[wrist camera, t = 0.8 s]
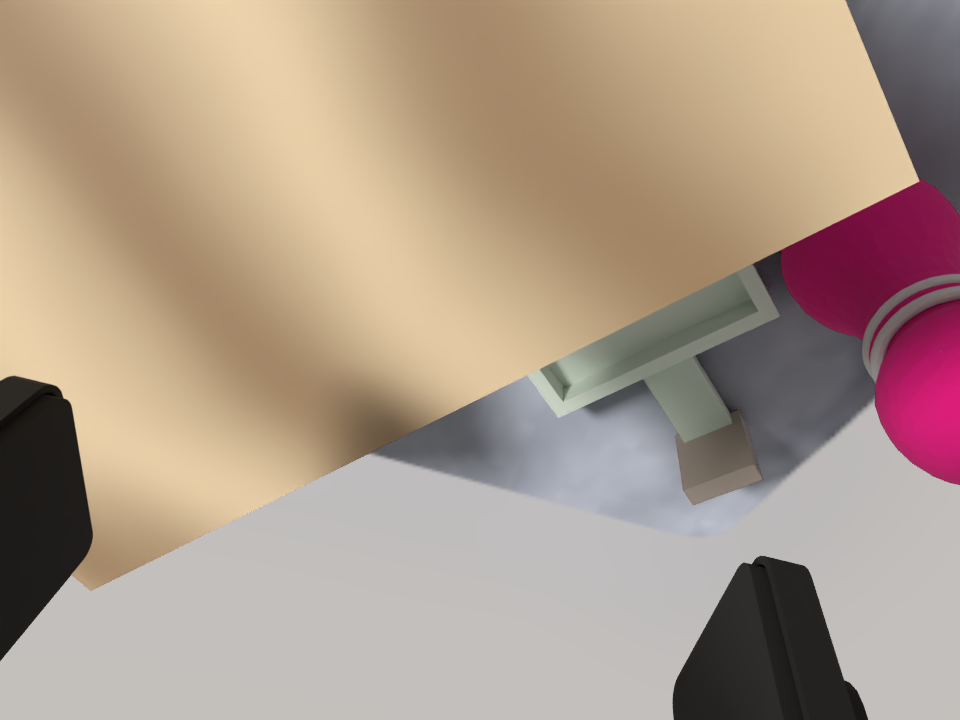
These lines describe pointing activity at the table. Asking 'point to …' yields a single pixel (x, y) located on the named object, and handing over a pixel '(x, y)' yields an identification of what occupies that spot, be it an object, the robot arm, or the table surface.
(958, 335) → the pepper mill
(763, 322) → the tray
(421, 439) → the table surface
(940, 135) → the table surface
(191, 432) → the open wooden crate
